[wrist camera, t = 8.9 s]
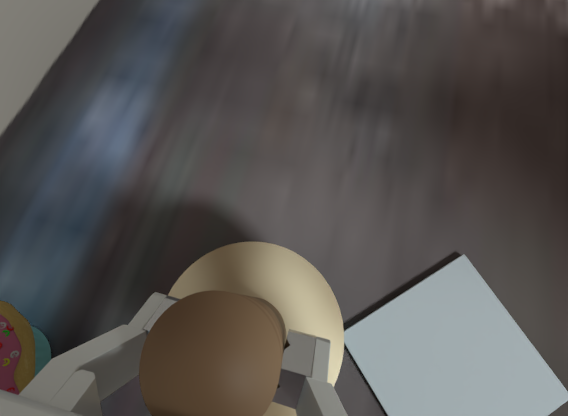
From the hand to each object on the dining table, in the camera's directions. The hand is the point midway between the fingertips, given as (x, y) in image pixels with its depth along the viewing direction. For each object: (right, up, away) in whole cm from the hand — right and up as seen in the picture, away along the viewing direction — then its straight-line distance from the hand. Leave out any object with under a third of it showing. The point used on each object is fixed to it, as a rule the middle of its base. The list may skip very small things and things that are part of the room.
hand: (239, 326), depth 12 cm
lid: (0, -2, +5) cm, 5 cm away
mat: (+12, -6, +9) cm, 16 cm away
